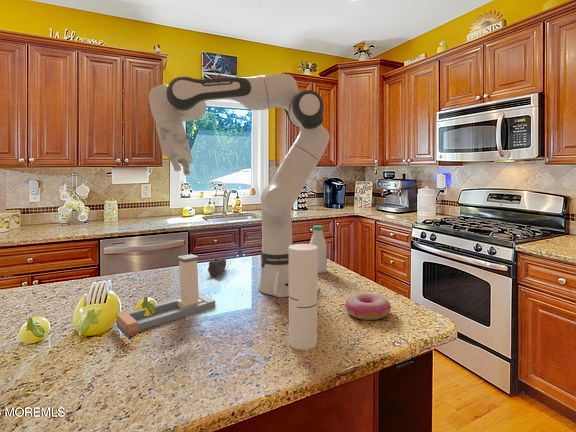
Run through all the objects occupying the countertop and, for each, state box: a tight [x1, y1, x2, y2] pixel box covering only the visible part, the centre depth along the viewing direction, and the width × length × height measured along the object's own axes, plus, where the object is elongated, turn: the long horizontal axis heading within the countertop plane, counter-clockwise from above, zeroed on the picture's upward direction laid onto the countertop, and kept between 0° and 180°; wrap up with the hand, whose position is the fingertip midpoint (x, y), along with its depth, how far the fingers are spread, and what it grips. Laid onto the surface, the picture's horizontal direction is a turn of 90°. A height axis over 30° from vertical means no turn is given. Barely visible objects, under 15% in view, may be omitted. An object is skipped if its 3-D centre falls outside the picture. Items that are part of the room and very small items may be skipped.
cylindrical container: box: [288, 243, 318, 351], centre depth 85 cm, size 7×7×25 cm
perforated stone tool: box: [207, 256, 227, 277], centre depth 146 cm, size 15×5×7 cm, turn 168°
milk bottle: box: [309, 224, 328, 274], centre depth 148 cm, size 8×8×20 cm
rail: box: [115, 292, 216, 340], centre depth 101 cm, size 26×10×4 cm, turn 133°
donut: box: [344, 292, 391, 321], centre depth 104 cm, size 14×13×5 cm
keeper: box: [176, 253, 202, 309], centre depth 105 cm, size 6×6×16 cm
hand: (183, 173), depth 114 cm, fingers open, 8 cm apart
